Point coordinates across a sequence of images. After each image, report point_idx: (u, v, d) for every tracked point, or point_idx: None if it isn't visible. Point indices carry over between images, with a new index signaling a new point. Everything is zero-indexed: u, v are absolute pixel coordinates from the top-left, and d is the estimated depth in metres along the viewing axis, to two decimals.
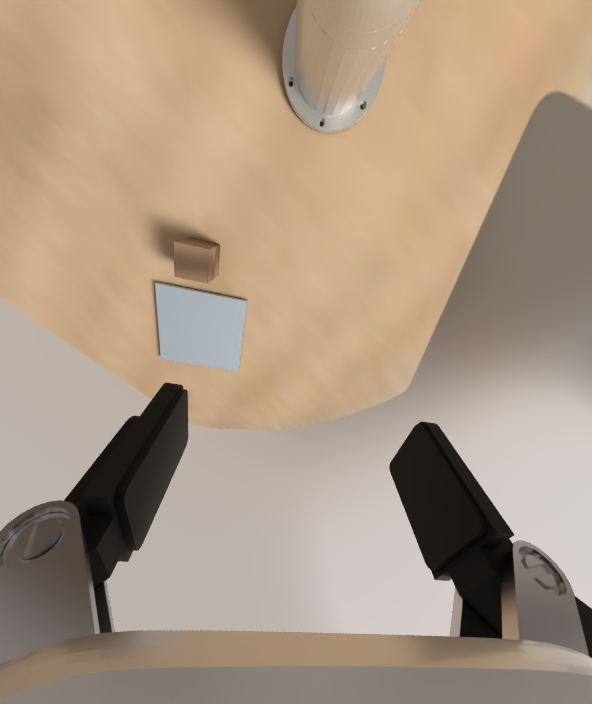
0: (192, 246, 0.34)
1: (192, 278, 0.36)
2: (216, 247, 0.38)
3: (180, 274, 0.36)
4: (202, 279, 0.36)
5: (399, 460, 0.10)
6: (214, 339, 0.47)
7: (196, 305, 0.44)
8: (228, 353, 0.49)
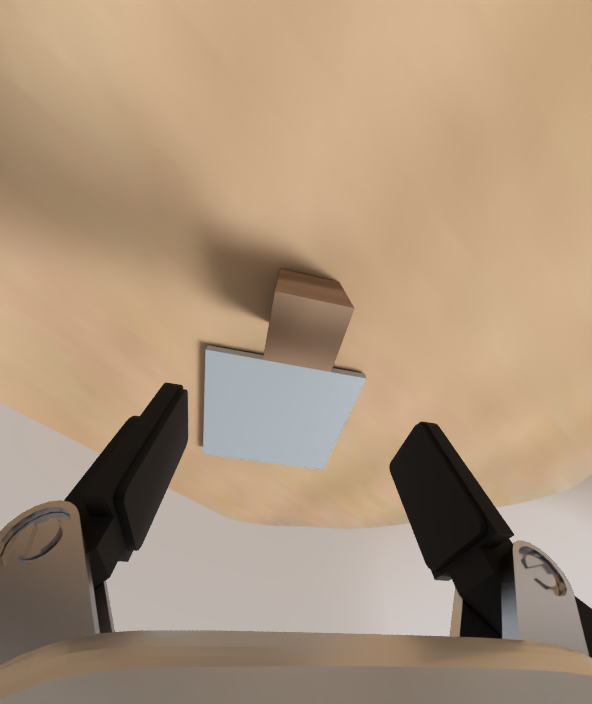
0: (316, 301, 0.15)
1: (299, 362, 0.17)
2: None
3: (276, 355, 0.17)
4: (321, 364, 0.17)
5: (399, 460, 0.10)
6: (295, 430, 0.28)
7: (275, 384, 0.24)
8: (314, 448, 0.30)
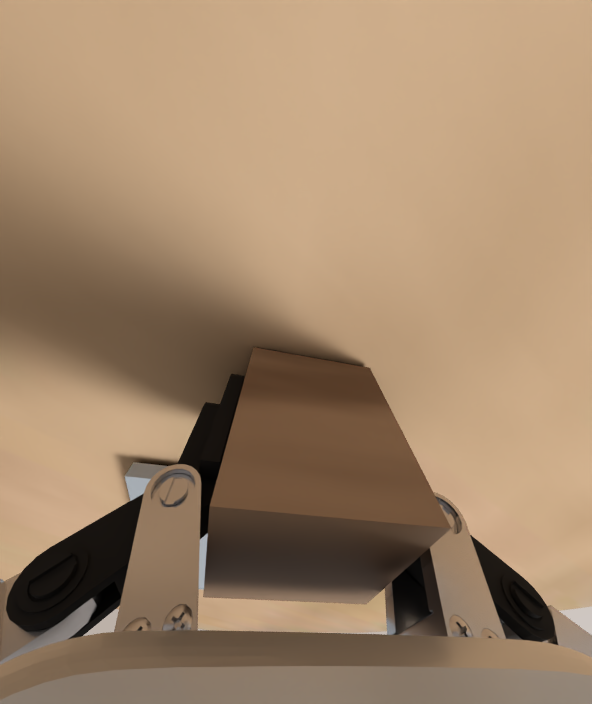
0: (341, 518, 0.05)
1: (294, 597, 0.07)
2: None
3: (234, 592, 0.07)
4: (345, 597, 0.07)
5: None
6: None
7: None
8: None
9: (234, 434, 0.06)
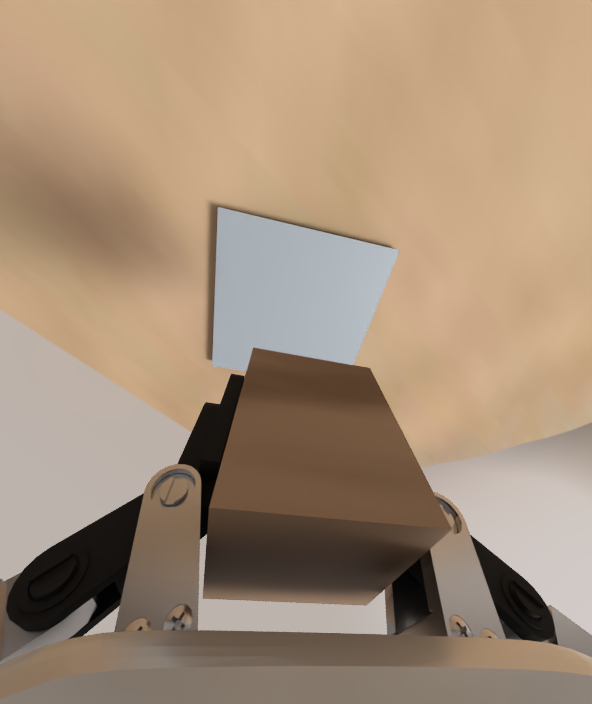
0: (341, 520, 0.05)
1: (293, 598, 0.07)
2: None
3: (234, 593, 0.07)
4: (345, 599, 0.07)
5: None
6: (316, 330, 0.25)
7: (296, 259, 0.22)
8: (335, 355, 0.27)
9: (233, 435, 0.06)
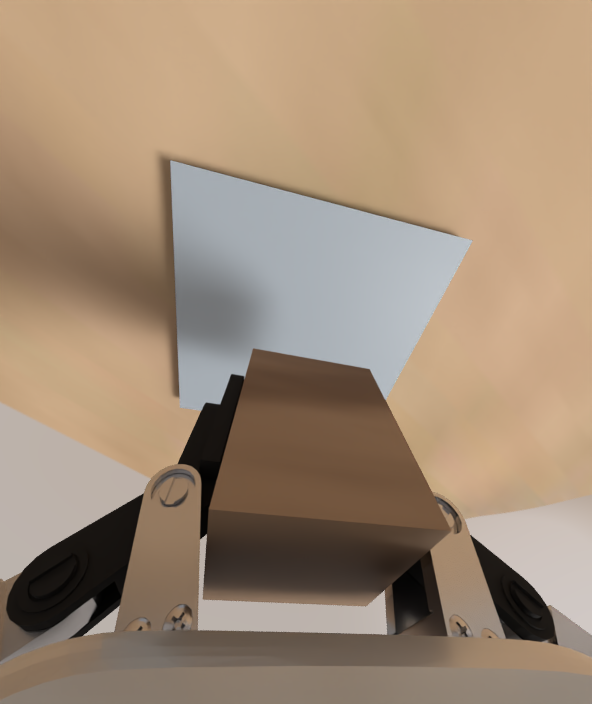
0: (341, 521, 0.05)
1: (293, 599, 0.07)
2: None
3: (234, 594, 0.07)
4: (345, 599, 0.07)
5: None
6: (331, 360, 0.17)
7: (304, 254, 0.13)
8: None
9: (233, 436, 0.06)
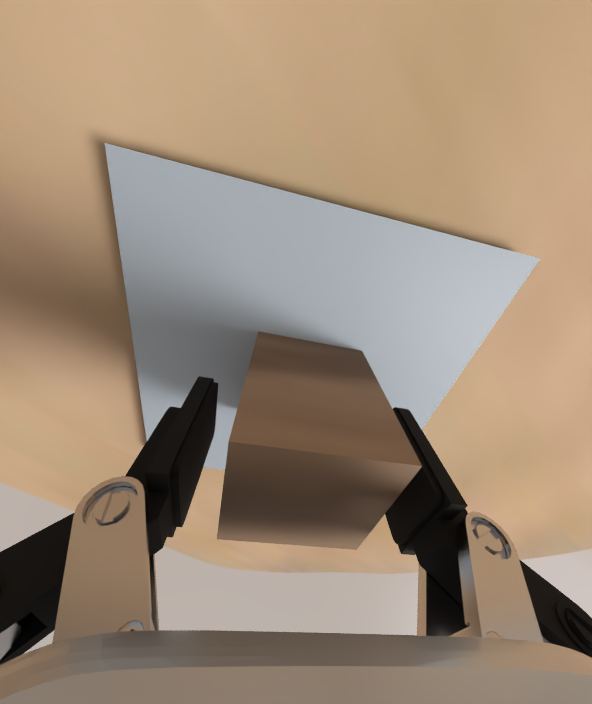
0: (333, 456, 0.06)
1: (294, 540, 0.08)
2: None
3: (244, 534, 0.08)
4: (338, 541, 0.08)
5: None
6: None
7: (306, 277, 0.10)
8: None
9: (245, 395, 0.07)
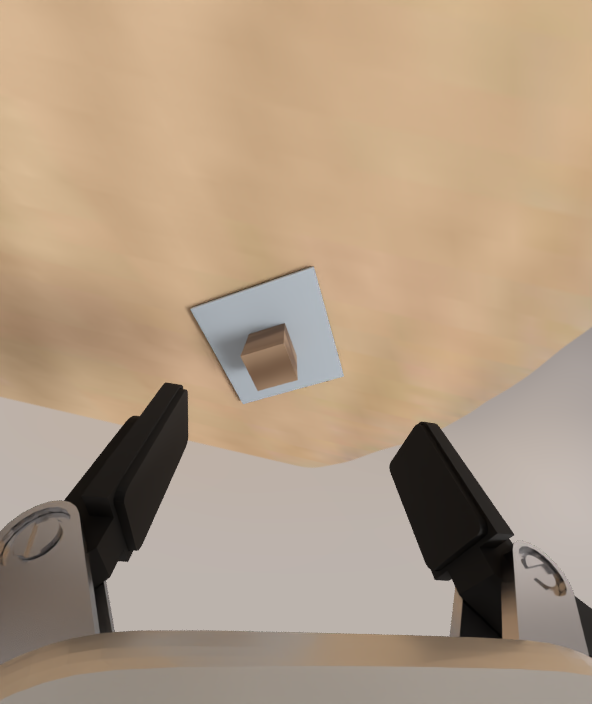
0: (263, 350, 0.26)
1: (277, 383, 0.28)
2: (284, 330, 0.29)
3: (262, 386, 0.28)
4: (289, 378, 0.27)
5: (399, 460, 0.10)
6: (294, 347, 0.32)
7: (251, 311, 0.30)
8: (320, 357, 0.33)
9: (243, 349, 0.27)
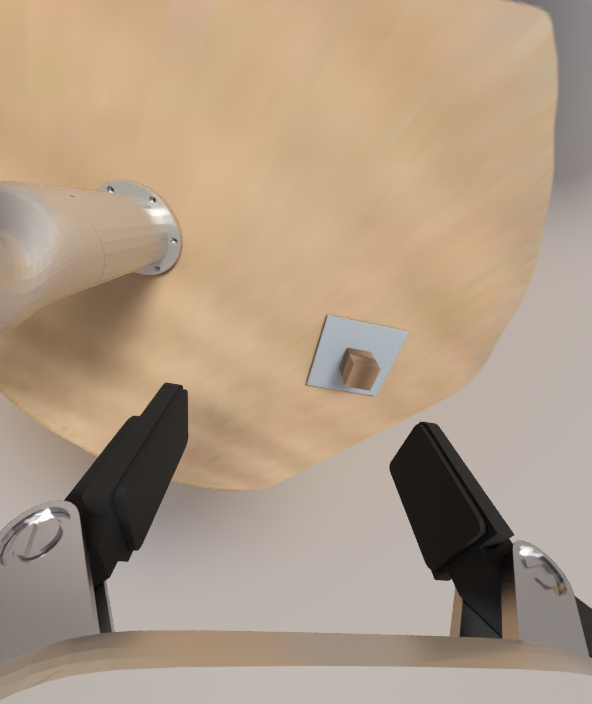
0: (350, 375, 0.42)
1: (374, 379, 0.43)
2: (350, 353, 0.45)
3: (369, 386, 0.44)
4: (376, 372, 0.42)
5: (399, 460, 0.10)
6: (364, 350, 0.47)
7: (328, 359, 0.48)
8: (383, 339, 0.46)
9: (343, 380, 0.45)
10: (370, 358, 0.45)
